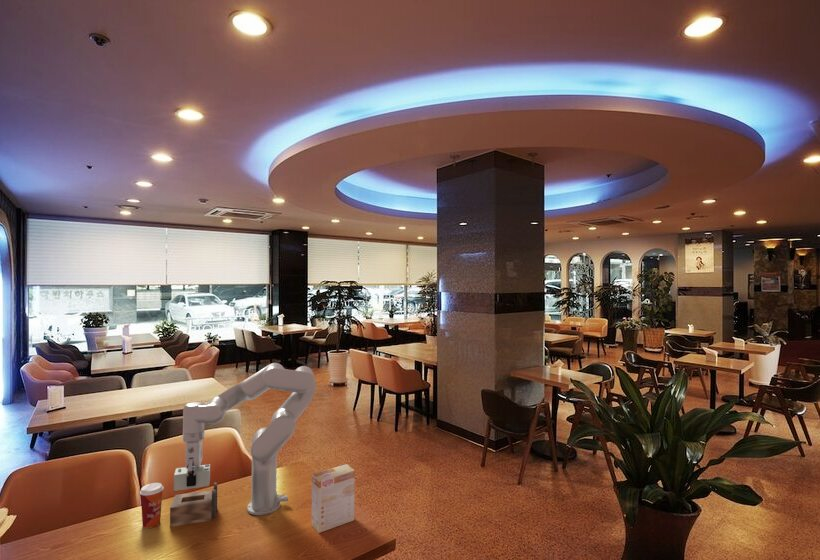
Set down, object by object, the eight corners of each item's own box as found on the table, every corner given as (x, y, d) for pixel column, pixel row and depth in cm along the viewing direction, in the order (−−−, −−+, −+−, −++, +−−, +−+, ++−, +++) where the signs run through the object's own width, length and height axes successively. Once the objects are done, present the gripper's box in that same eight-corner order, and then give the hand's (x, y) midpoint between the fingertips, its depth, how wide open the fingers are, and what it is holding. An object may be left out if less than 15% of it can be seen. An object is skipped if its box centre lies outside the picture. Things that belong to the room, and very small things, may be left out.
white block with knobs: (210, 479, 173) (210, 462, 173) (208, 485, 168) (209, 468, 168) (176, 483, 169) (176, 466, 169) (173, 490, 164) (174, 472, 163)
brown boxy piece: (217, 506, 176) (217, 480, 176) (214, 519, 166) (214, 492, 166) (175, 512, 171) (175, 486, 171) (169, 526, 162) (170, 498, 162)
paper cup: (152, 531, 159) (152, 492, 159) (134, 528, 160) (134, 490, 160) (168, 519, 166) (168, 482, 166) (150, 517, 168) (151, 480, 168)
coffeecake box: (346, 512, 173) (346, 463, 173) (354, 520, 167) (355, 470, 167) (310, 524, 164) (311, 473, 164) (318, 533, 158) (319, 480, 158)
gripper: (201, 442, 161) (200, 491, 161) (207, 427, 178) (206, 471, 178) (178, 444, 159) (177, 493, 159) (186, 428, 175) (185, 473, 176)
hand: (192, 481), depth 169 cm, fingers closed on white block with knobs, 6 cm apart
